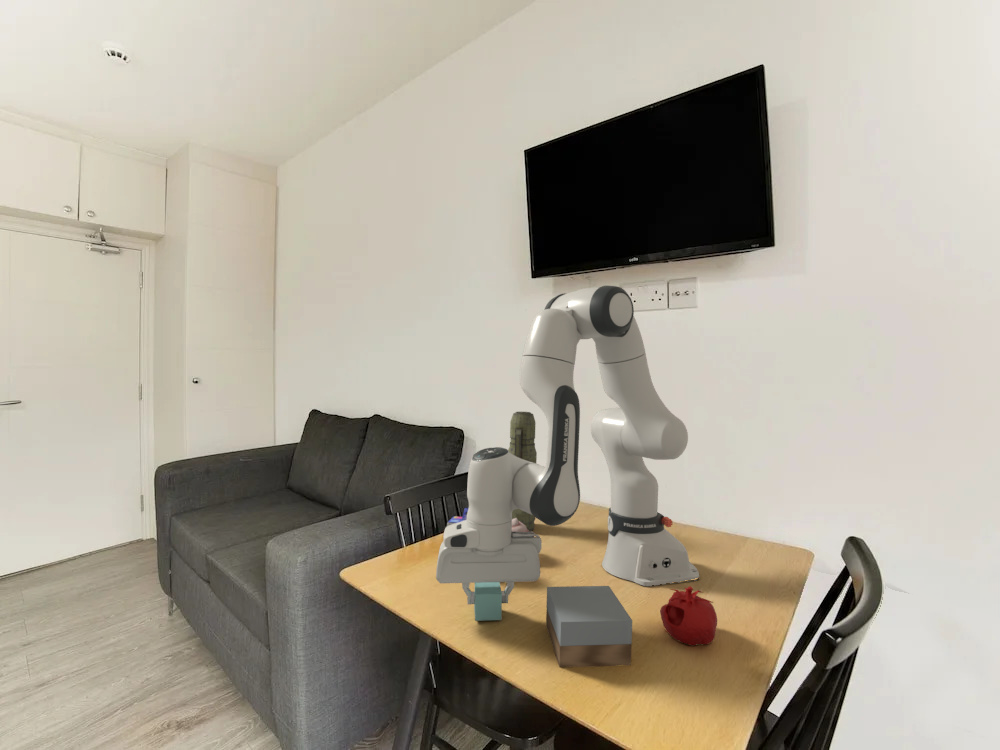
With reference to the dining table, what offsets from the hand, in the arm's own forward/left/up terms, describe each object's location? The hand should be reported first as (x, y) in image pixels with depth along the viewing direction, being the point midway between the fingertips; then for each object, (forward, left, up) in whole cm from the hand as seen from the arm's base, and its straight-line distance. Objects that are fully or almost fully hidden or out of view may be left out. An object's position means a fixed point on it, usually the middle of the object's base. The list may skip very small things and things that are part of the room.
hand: (487, 602), depth 91 cm
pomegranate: (-37, +8, -3) cm, 38 cm away
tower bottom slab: (-17, +10, -3) cm, 20 cm away
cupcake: (-9, -28, -3) cm, 29 cm away
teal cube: (0, 0, -2) cm, 2 cm away
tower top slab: (-17, +10, +1) cm, 20 cm away
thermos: (-13, -49, -3) cm, 51 cm away
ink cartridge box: (+3, -20, -3) cm, 20 cm away
